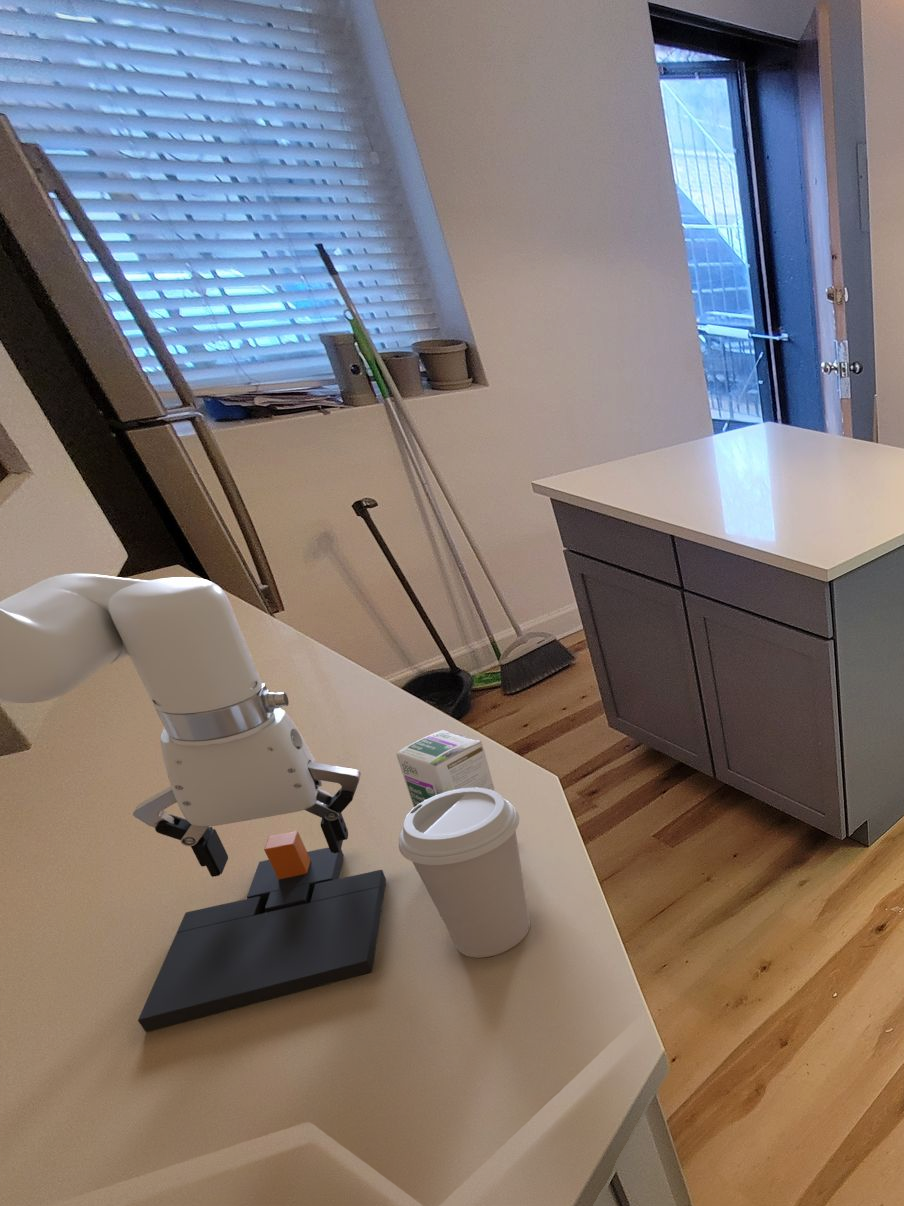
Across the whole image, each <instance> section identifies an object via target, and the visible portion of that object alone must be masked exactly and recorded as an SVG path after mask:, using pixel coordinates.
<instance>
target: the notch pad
mask: <svg viewBox="0 0 904 1206" xmlns="http://www.w3.org/2000/svg"><path fill="white" fill-rule="evenodd" d="M386 884H387V879H386V875H385V873H384V870H383V869H378V870H374V871H373V870H372V871H369V872H364V873H359V874H355V875H350V876H347V877H346V876H345V877H341V878H339V879H336V880H332V881H327V882H322V883H318V884H315V886H314V890H313V894H312V898H311V901H310V903H307V904H303V905H298V906H294V907H289V908H285V909H281V910H276V911H272V912H266V910H265V906H266V905H265V904H264V902H263V900H262V898H261V896H258V897H254V898H249V899H247V898H245V899H241V900H236V901H232V902H227V903H221V904H217V905H214V906H209V907H205V908H200V909H194V910H190V911H186V912H184V915H183V918H182V919H181V922H180V923H179V926H178V928H177V931H176V933H175V936H174V937H173V940H172V941H171V945H170V947H169V949H168V951H167V954H166V956H165V958H164V960H163V963H162V965H161V967H160V970H159V972H158V973H157V976H156V978H155V981H154V983H153V985H152V987H151V990H150V992H149V994H148V996H147V999H146V1001H145V1003H144V1006H143V1008H142V1010H141V1012H140V1014H139V1017H138V1019H137V1022H138V1023H139V1025H140V1026H141V1028H142V1029H143V1030H144V1032H146V1033H147V1032H151V1031H154V1030H158V1029H162V1028H166V1027H170V1026H173V1025H177V1024H180V1023H186V1022H188V1021H192V1020H196V1019H200V1018H203V1017H208V1016H211V1015H215V1014H218V1013H219V1014H220V1013H223V1012H227V1011H230V1010H234V1009H237V1008H242V1007H246V1006H249V1005H253V1004H257V1003H260V1002H264V1001H267V1000H272V999H276V998H279V997H282V996H287V995H291V994H295V993H297V992H302V991H305V990H310V989H313V988H317V987H321V986H324V985H328V984H329V985H330V984H333V983H336V982H339V981H343V980H347V979H350V978H354V977H359V976H363V975H366V974H370V973H373V967H374V961H375V955H376V948H377V942H378V935H379V929H380V922H381V917H382V916H381V915H382V909H383V902H384V897H385V891H386Z"/></svg>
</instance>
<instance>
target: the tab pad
mask: <svg viewBox="0 0 904 1206" xmlns="http://www.w3.org/2000/svg"><path fill="white" fill-rule="evenodd" d="M263 850H264V852H265V855H266V857H267V859H266V860H261V861H259V862H258V864H257V868H256V870H255V873H254V876H253V879H252V881H251V884H250V887H249V889H248V891H247V895H246V899H249V898H254V897H258V896H261V898H262V900H263V902H264V904H265V913H267V912H272V911H276V910H281V909H285V908H289V907H294V906H298V905H303V904H307V903H310V901H311V898H312V894H313V890H314V886H315V884H318V883H322V882H327V881H332V880H336V879H340V874H341V870H342V865H343V860H344V857H345V854H344V852H343V850H342V849H341V852H339V853H333V852H332V853H331V851H330V849H329V846H328V847H324V848H319V849H314V850H309V851H308V850H307V848H306V847H305V845H304V842H303V840H302V838H301V835H300V833H299V831H298V830H294V831H288V832H284V833H279V834H274V835H269V836H268V837H267V841H266V843H265V846H264V849H263Z"/></svg>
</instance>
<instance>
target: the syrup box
mask: <svg viewBox="0 0 904 1206" xmlns="http://www.w3.org/2000/svg"><path fill="white" fill-rule="evenodd" d="M395 756H396V757H397V761H398V764H399V767H400V770H401V773H402V776H403V779H404V782H405V785H406V788H407V791H408V794H409V797H410V800H411V803H412V806H413V808H414V807H415V806H417V805H418V804H420V803H421V802H423V801H425V800H427V799H429V798H431V797H433V796H435V795H438V794H441V793H444V792H447V791H451V790H456V789H462V788H485V789H490V790H493V791H495V792H496V790H495V786H494V785H495V784H494V781H493V778H492V775H491V770H490V767H489V764H488V763H489V762H488V760H487V756H486V752H485V748H484V744H483V741H482V740H479V739H474V738H470V737H467V736H464V735H461V734H458V733H454V732H452V731H448V730H445V729H442V730H438V731H436V732H434V733H431V734H428V735H426V736H424V737H422V738H419V739H418V740H415V741H414V742H412V743H410V744H408V745H407V746H405V747H403V748H401V749H400V750H399V751H397V752H396V753H395Z"/></svg>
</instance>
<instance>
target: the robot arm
mask: <svg viewBox="0 0 904 1206" xmlns="http://www.w3.org/2000/svg"><path fill="white" fill-rule="evenodd" d="M126 657H130V659H131V661H132V664H133V666H134V668H135V670H136V672H137V674H138V676H139V679H140V680H141V683H142V685H143V686H144V688H145V691H146V692H147V695H148V697H149V699H150V701H151V703H152V705H153V707H154V710H155V711H156V713H157V715H158V717H159V719H160V721H161V723H162V725H163V728H162V730H161V734H160V736H159V739H160V740H159V741H160V748H161V754H162V758H163V763H164V767H165V771H166V774H167V778H168V781H169V786H168V787H166V788H164V789H163V790H161V791H159V792H158V793H156V794H154V795H152V796H150V797H148V798H147V799H145V800H143V801H142V802H139V803H138V804H136V805H137V806H136V807H135V809H134V811H133V812H132V816H133V817H134V818H136V819H137V820H139V821H141V822H142V823H144V824H146V825H147V826H149V827H153V828H154V830H155V832H156V833H157V834H160V835H163V836H166V837H169V838H171V839H175V840H178V841H180V844H182V845H183V846H185V847H190V848H191V850H192V852H193V854H194V856H195V857H196V860H197V862H198V864H199V865H200V866H201V867H206V869H207V871H208V873H209V875H210V876H211V877H212V878H214V877H219V876H220V875H222V874H223V873H224V870H225V867H226V865H227V863H228V861H229V855H228V853H227V851H226V849H225V846H224V844H223V842H222V841H221V838H220V835H219V834H218V832H217V830H216V829H215V828H213V827H215V826H222V825H229V824H235V823H242V822H247V821H252V820H258V819H259V820H260V819H264V818H271V817H275V816H281V815H286V814H287V815H288V814H291V813H292V814H293V813H297V812H302V811H306V812H308V813H310V814H312V815H315V816H317V817H320V818H321V820H320V824H319V825H320V828H321V831H322V833H323V836H324V838H325V841H326V843H327V846H328V847H329V849H330V851H331V853H332V852H333V853H339V852H341V850H342V847H343V842H344V841H346V840H348V838H349V829H348V827H347V824H346V822H345V819H344V817H343V814H342V813H343V811H344V810H345V809H346V808H347V807H348V806H349V805H350V804H351V802H353V800H354V796H355V793H356V791H357V788H358V786H359V783H360V779H361V771H360V770H358V769H354V768H348V767H343V766H338V765H331V764H326V763H320V762H316V760H315V758H314V756H313V754H312V752H311V751H310V748H309V746H308V744H307V743H306V741H305V739H304V737H303V736H302V734H301V732H300V731H299V729H298V727H297V726H296V724H295V723H294V722H293V720H292V718H291V717H290V716H289V715H288V713H287V712H286V711H285V710H284V709H283V708H281V707H288V706H289V704H290V703H289V697H288V695H287V693H286V692H285V691H284V692H275V691H274V692H271V691H270V689H268V688H267V685H266V683H263V682H262V680H261V677H260V675H259V672H258V670H257V668H256V664H255V662H254V659H253V657H252V654H251V652H250V650H249V647H248V644H247V641H246V640H245V636H244V635H243V633H242V629H241V627H240V624H239V623H238V620H237V616H236V615H235V612H234V609H233V607H232V605H231V601H230V600H229V598H228V596H227V593H226V592H225V591H224V590H223V589H222V587H220V585H218V584H216V583H215V582H213V581H210V580H208V579H204V578H201V577H200V578H199V577H189V576H188V577H187V576H186V577H184V576H180V577H179V576H178V577H176V576H175V577H163V578H156V579H155V578H154V579H150V580H147V579H135V578H127V577H119V576H111V575H104V574H95V573H64V574H58V575H53V576H50V577H48V578H45V579H43V580H40V581H38V582H37V583H35V584H32V585H31V586H29V587H27V588H25V589H23V590H21V591H20V590H19V592H17V593H15V594H11V596H8V597H6V598H4V599H2V600H0V702H5V703H6V702H7V703H14V704H36V703H42V702H43V703H44V702H49V701H51V700H55V699H57V698H60V697H63V696H65V695H66V694H69V693H70V692H72V691H73V690H75V689H76V688H78V687H79V686H81V685H82V684H84V683H85V682H86V681H88V680H89V679H91V678H92V677H93V676H94V675H96V674H98V673H99V672H101V671H102V670H103V669H104V668H107V666H109V665H112V664H113V663H116V662H118V661H120V660H122V659H124V658H126ZM323 781H324V782H328V783H335V784H338V785H340V786H341V787H340V788H339V790H337V792H336V793H335V794H333V793H331V792H328V791H327V790H324V789H322V788H320V787H322V785H323ZM176 803H177V806H178V808H179V810H180V812H181V813H182V816H183V817H184V818H183V817H180V816H178V815H174V814H170V813H169V814H168V813H167V811H165V809H168V808H170V807H171V806H172V805H174V804H176Z"/></svg>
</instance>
